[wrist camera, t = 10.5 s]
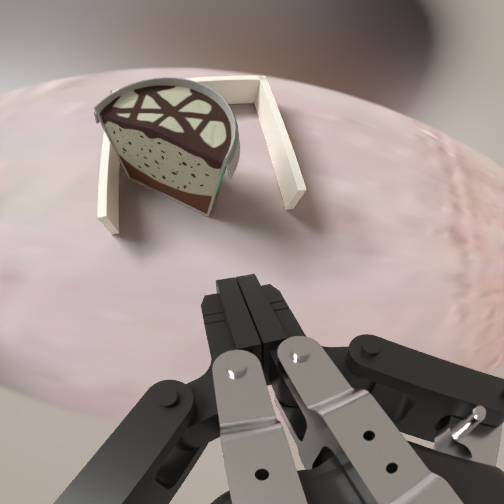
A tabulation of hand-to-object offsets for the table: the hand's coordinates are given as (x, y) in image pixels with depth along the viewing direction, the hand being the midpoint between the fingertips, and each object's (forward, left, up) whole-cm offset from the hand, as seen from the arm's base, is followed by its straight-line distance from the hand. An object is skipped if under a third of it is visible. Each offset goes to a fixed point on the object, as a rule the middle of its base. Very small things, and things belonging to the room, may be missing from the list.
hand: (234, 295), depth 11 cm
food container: (-1, +14, -13) cm, 19 cm away
